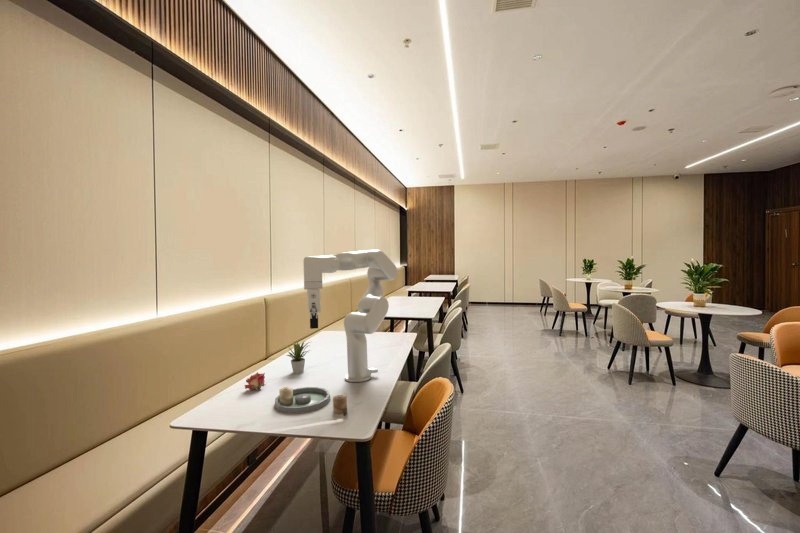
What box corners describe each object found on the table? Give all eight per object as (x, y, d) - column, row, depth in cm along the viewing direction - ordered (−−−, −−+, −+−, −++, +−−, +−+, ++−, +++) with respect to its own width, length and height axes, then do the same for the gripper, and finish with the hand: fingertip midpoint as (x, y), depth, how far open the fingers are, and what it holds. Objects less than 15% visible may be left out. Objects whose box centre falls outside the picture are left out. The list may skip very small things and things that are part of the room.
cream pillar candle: (293, 400, 144) (292, 385, 144) (293, 405, 139) (292, 390, 139) (280, 402, 142) (279, 387, 142) (279, 407, 138) (279, 392, 137)
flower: (274, 384, 161) (267, 368, 164) (260, 387, 153) (253, 370, 155) (258, 395, 163) (252, 379, 166) (243, 399, 155) (237, 382, 157)
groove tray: (327, 391, 156) (327, 384, 156) (332, 410, 135) (332, 402, 135) (276, 398, 150) (276, 391, 150) (273, 419, 130) (273, 411, 129)
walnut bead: (346, 409, 136) (345, 394, 136) (348, 415, 131) (347, 399, 131) (332, 411, 135) (332, 396, 134) (334, 417, 130) (333, 401, 130)
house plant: (320, 369, 186) (319, 338, 185) (300, 378, 174) (298, 344, 174) (301, 366, 193) (300, 336, 193) (280, 373, 182) (279, 341, 181)
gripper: (322, 286, 142) (323, 329, 143) (322, 284, 159) (323, 322, 159) (303, 287, 141) (304, 330, 141) (304, 284, 158) (305, 323, 158)
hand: (314, 326), depth 150 cm, fingers open, 9 cm apart
